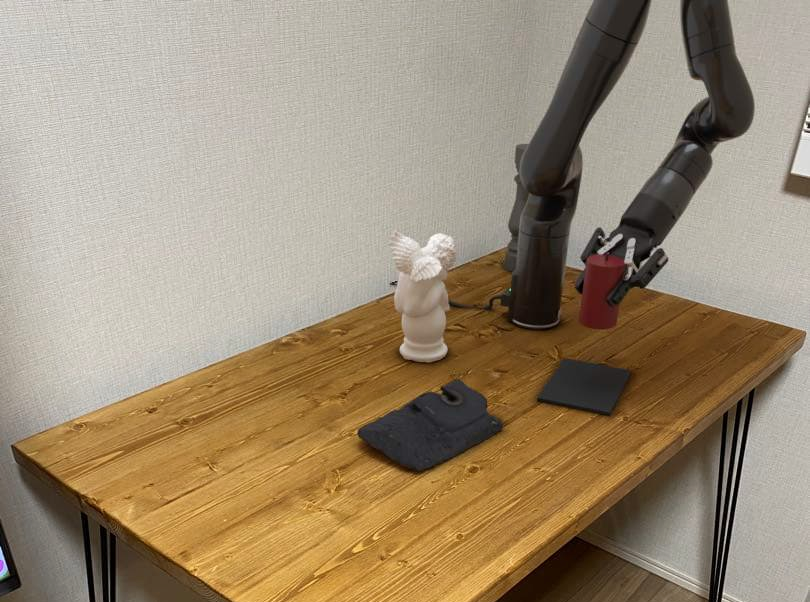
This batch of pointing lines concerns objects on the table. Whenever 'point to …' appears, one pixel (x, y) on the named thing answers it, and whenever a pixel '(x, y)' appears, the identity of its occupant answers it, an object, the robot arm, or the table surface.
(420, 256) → the cherub figurine
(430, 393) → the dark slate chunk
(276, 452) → the table surface
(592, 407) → the mat
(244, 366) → the table surface
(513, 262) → the candle holder
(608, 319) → the candle
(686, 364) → the table surface
